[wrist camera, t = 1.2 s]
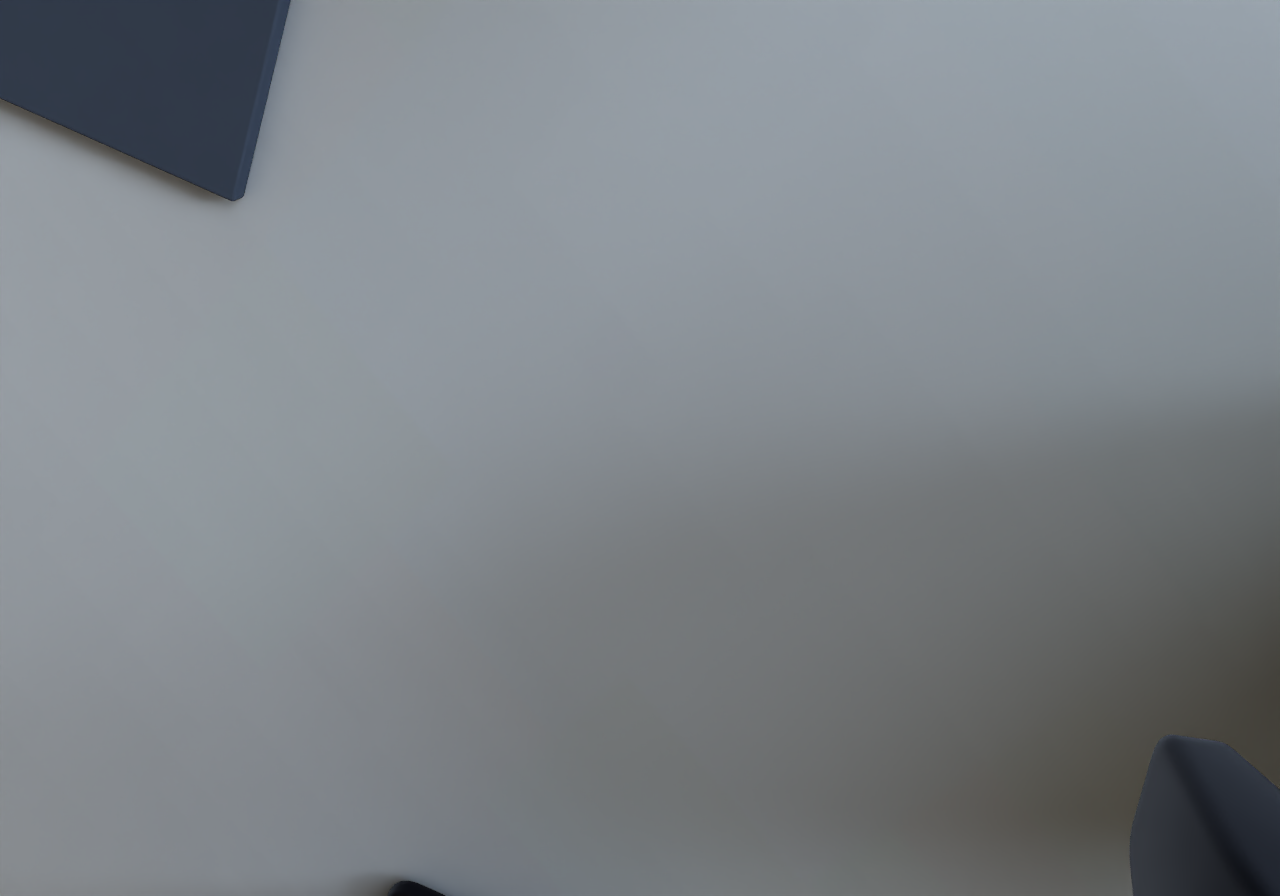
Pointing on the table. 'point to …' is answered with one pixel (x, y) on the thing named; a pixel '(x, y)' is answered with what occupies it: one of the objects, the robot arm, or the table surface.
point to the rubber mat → (149, 77)
